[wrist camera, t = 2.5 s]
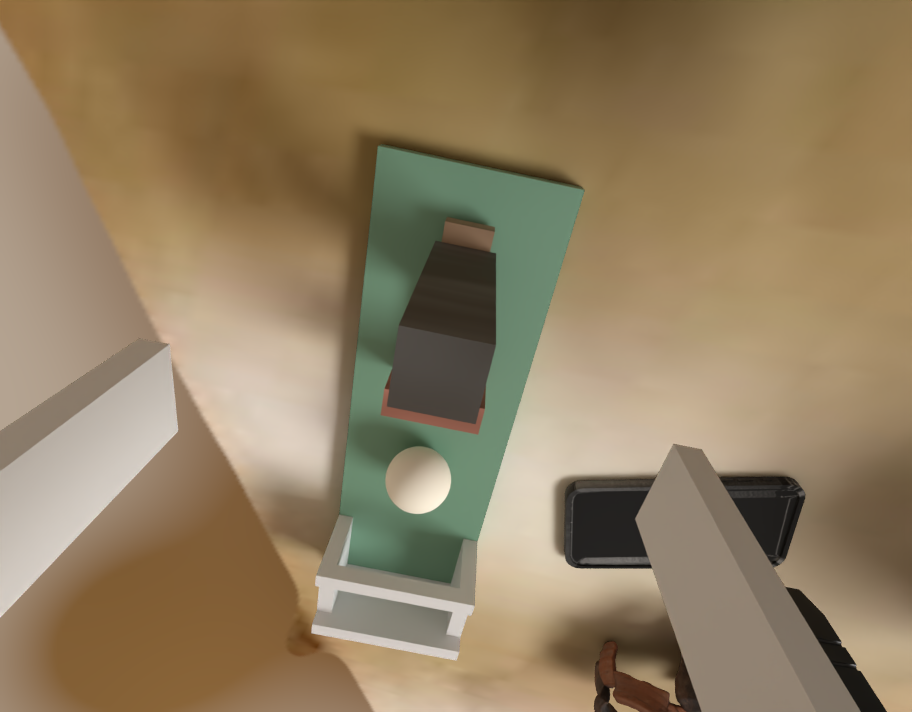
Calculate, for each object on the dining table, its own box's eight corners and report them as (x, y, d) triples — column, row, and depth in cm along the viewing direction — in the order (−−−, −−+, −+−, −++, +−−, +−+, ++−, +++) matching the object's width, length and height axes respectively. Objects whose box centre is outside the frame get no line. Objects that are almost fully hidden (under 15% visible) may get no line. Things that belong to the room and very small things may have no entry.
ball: (396, 427, 30) (383, 470, 27) (458, 440, 31) (454, 484, 27) (388, 475, 32) (375, 521, 29) (447, 486, 32) (441, 534, 29)
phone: (782, 568, 34) (565, 568, 36) (774, 555, 35) (563, 556, 37) (809, 483, 30) (566, 487, 32) (799, 471, 31) (564, 475, 33)
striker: (421, 211, 24) (369, 287, 14) (520, 232, 24) (537, 322, 14) (396, 371, 28) (343, 514, 18) (480, 388, 28) (472, 539, 19)
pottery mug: (683, 695, 44) (657, 791, 38) (596, 618, 46) (560, 698, 41) (785, 662, 36) (772, 777, 30) (674, 571, 38) (643, 662, 33)
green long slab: (382, 144, 24) (349, 156, 18) (581, 186, 24) (605, 211, 19) (336, 563, 38) (311, 637, 33) (460, 587, 39) (455, 664, 33)
